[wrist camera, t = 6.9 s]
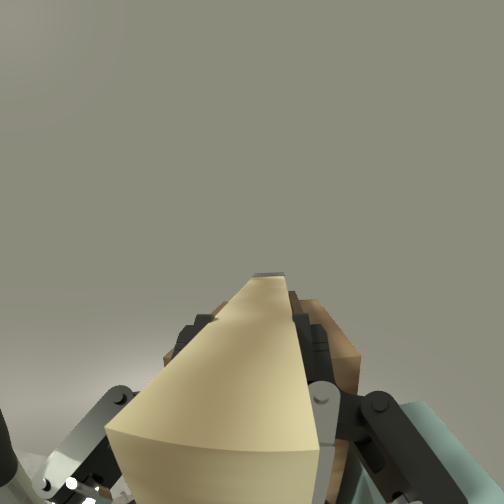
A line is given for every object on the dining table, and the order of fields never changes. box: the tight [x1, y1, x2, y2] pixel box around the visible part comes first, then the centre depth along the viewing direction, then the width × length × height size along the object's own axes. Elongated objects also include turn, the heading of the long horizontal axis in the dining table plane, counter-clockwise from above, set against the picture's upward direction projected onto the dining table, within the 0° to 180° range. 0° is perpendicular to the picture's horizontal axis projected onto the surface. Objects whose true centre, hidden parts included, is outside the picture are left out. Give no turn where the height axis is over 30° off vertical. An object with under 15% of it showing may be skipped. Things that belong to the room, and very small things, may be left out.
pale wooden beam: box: [104, 272, 320, 504], centre depth 19 cm, size 4×32×4 cm, turn 175°
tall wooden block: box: [163, 291, 361, 504], centre depth 25 cm, size 12×20×33 cm, turn 175°
